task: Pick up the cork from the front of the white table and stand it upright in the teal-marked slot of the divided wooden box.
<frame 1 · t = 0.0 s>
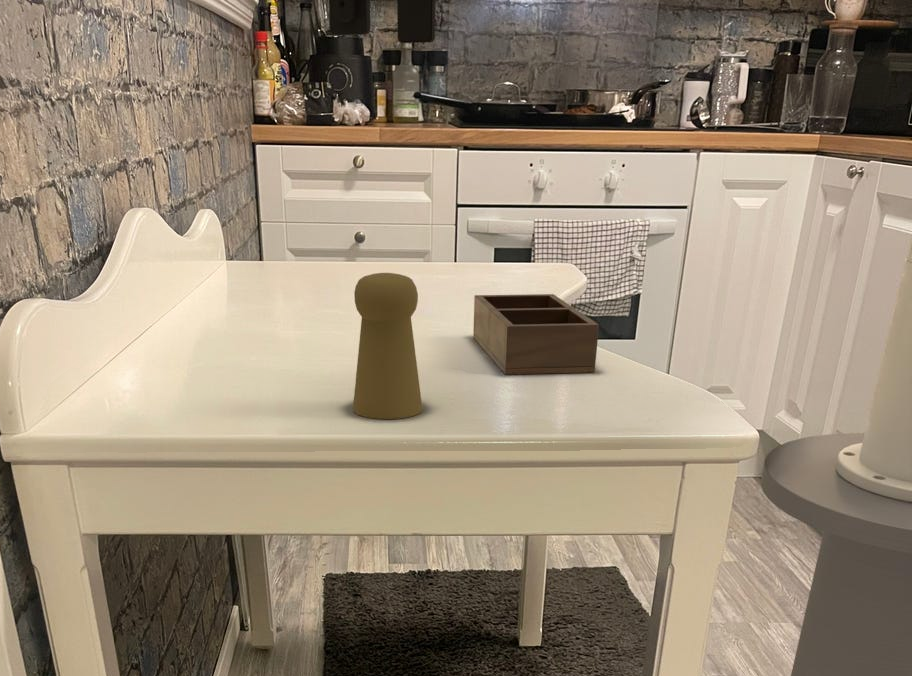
hand: (384, 38, 73), 27 cm above the table, tool pointing down, fingers open, 9 cm apart
divided wooden box: (529, 353, 101), on the table
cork: (387, 411, 82), on the table
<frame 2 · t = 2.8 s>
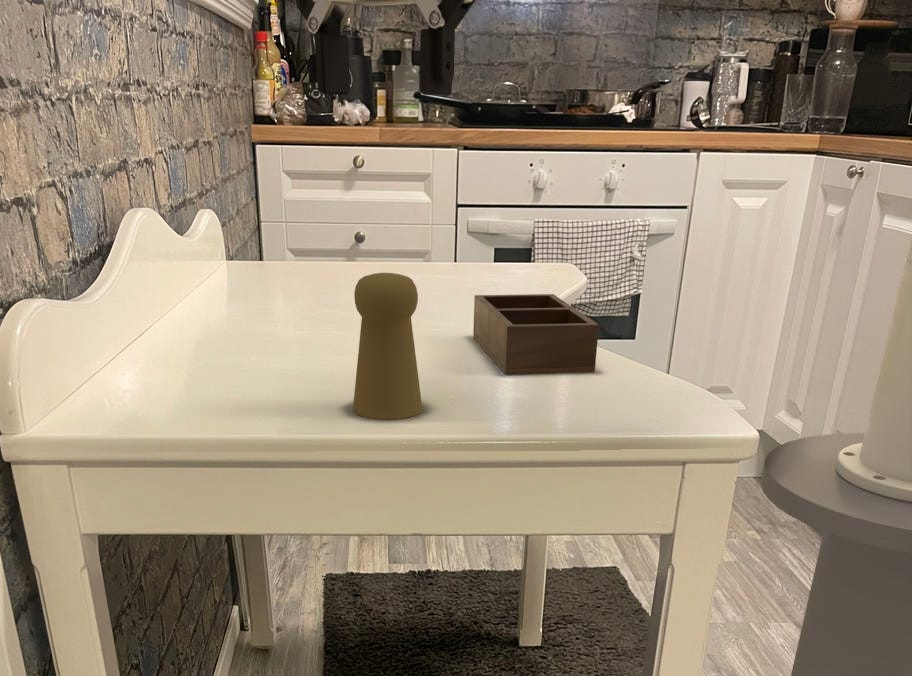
hand: (383, 94, 72), 24 cm above the table, tool pointing down, fingers open, 9 cm apart
nothing on the table moved.
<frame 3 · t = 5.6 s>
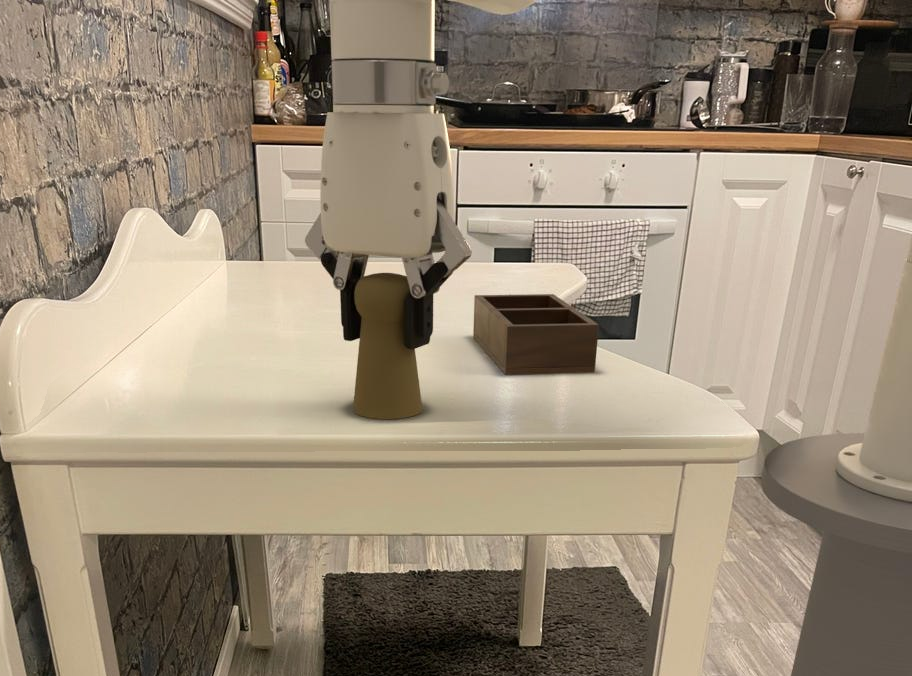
hand: (386, 339, 79), 6 cm above the table, tool pointing down, fingers closed on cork, 5 cm apart
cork: (387, 411, 82), on the table, touching gripper
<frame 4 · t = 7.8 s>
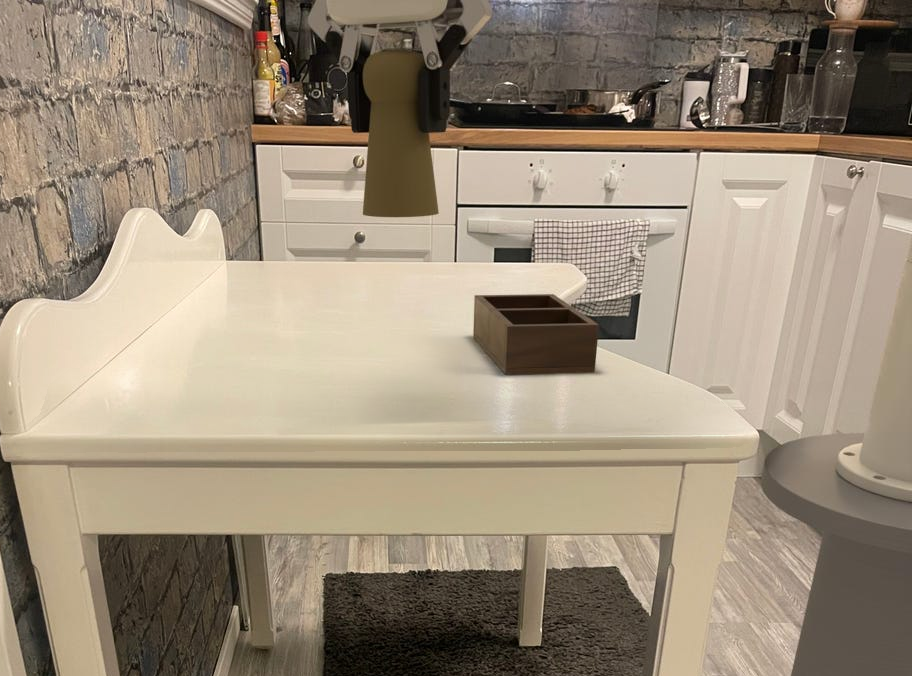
hand: (398, 129, 72), 21 cm above the table, tool pointing down, fingers closed on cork, 5 cm apart
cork: (400, 216, 75), point 15 cm above the table, touching gripper
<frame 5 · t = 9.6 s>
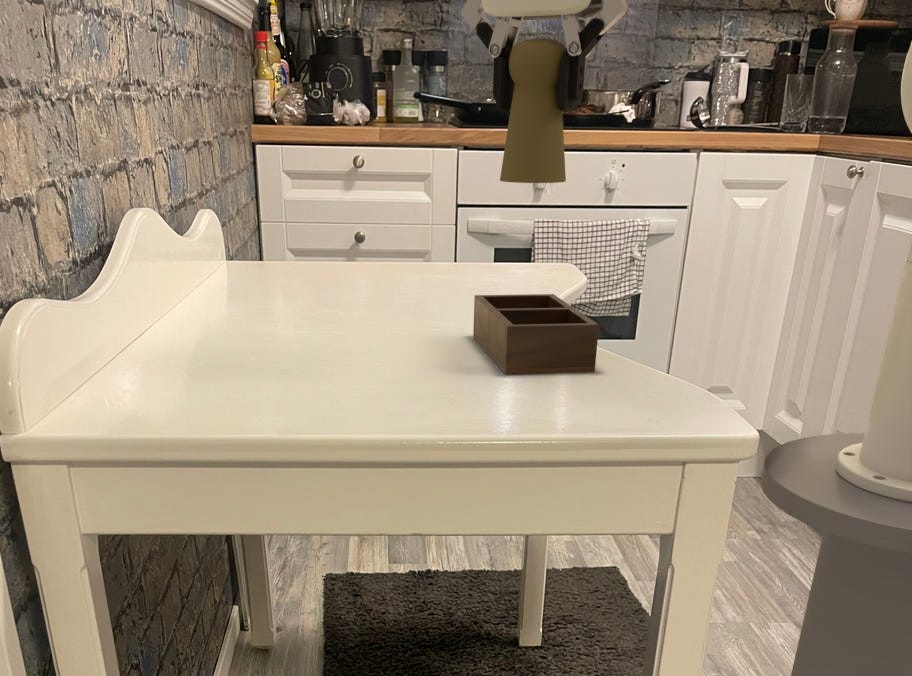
hand: (536, 107, 84), 23 cm above the table, tool pointing down, fingers closed on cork, 5 cm apart
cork: (532, 183, 87), point 17 cm above the table, touching gripper
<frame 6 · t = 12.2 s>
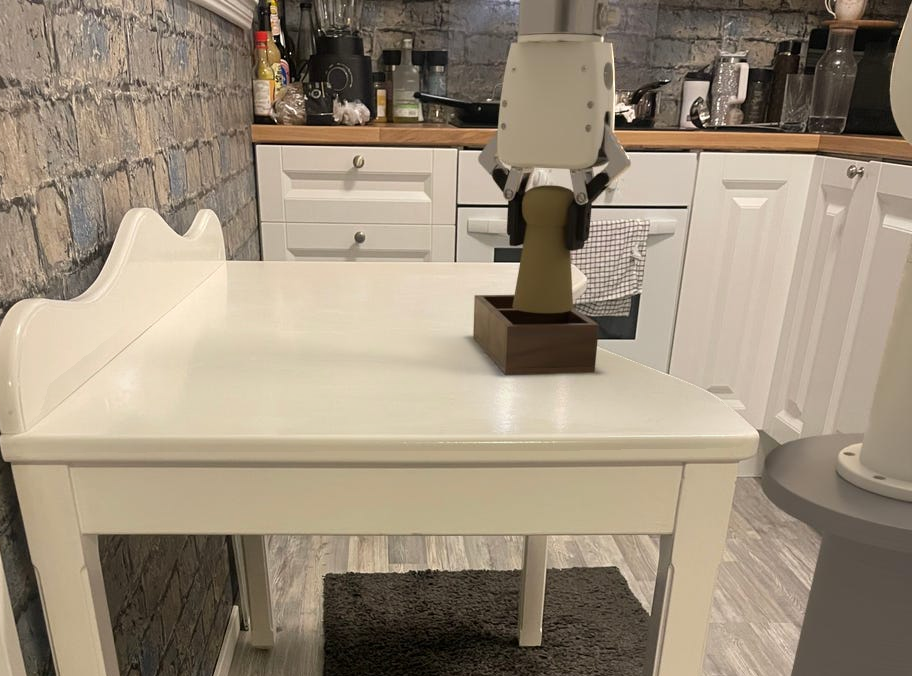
hand: (546, 244, 92), 11 cm above the table, tool pointing down, fingers closed on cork, 5 cm apart
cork: (542, 309, 95), point 5 cm above the table, touching gripper
when the fingers open (7 cm above the table, at t = 13.8 s): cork stays where it is, resting on divided wooden box.
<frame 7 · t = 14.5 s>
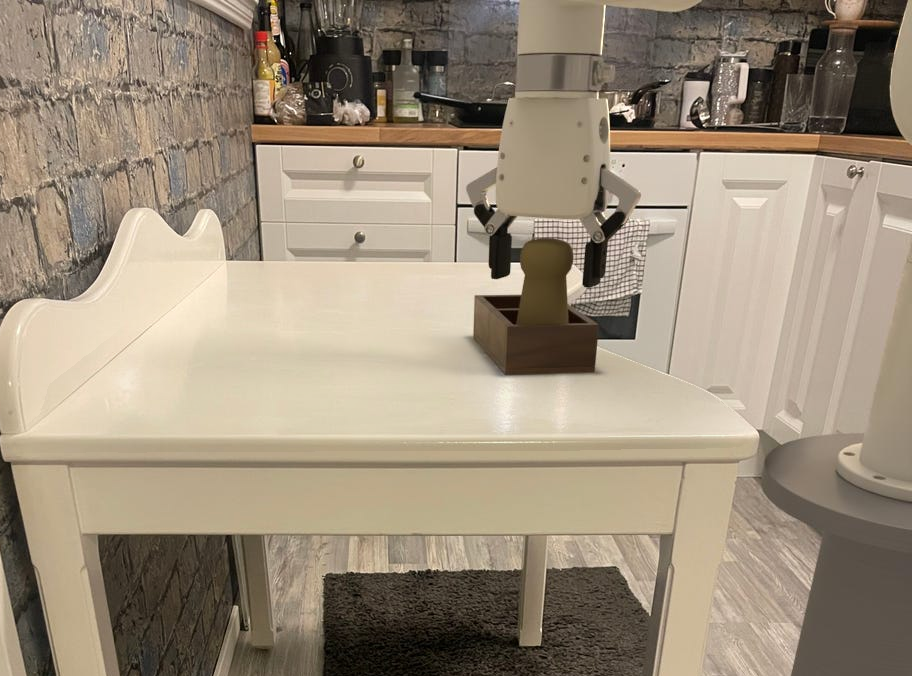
hand: (544, 281, 94), 8 cm above the table, tool pointing down, fingers open, 9 cm apart
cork: (540, 356, 97), point 1 cm above the table, touching divided wooden box
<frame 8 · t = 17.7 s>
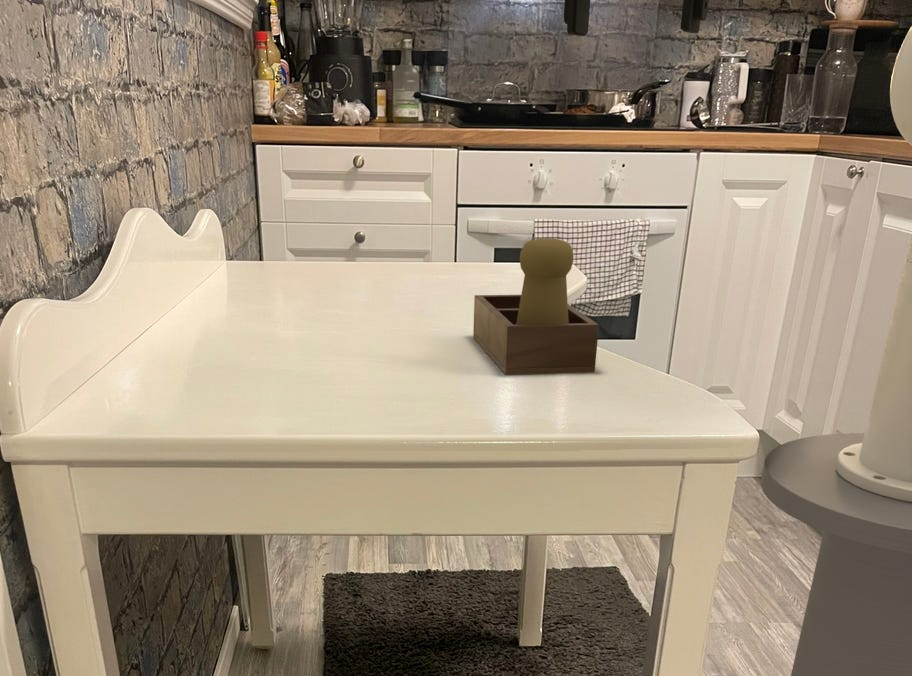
hand: (632, 33, 79), 28 cm above the table, tool pointing down, fingers open, 9 cm apart
nothing on the table moved.
at the end: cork 0.1 cm from the target spot in the divided wooden box, point 0.6 cm above the divided wooden box's base; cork tilted 0°; the gripper is holding nothing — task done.
